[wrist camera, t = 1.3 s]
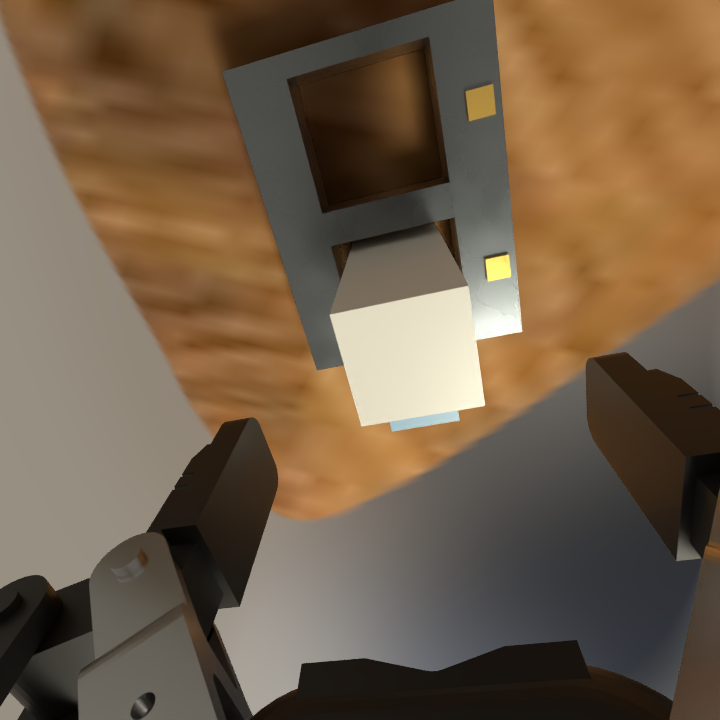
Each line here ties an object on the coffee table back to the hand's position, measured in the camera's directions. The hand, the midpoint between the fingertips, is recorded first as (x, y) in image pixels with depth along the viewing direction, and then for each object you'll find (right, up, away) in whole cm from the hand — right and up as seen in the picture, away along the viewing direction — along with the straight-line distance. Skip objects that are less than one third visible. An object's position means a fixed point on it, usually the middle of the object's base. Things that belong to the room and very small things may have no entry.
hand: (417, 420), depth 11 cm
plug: (+1, +6, +11) cm, 13 cm away
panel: (0, +9, +10) cm, 13 cm away
